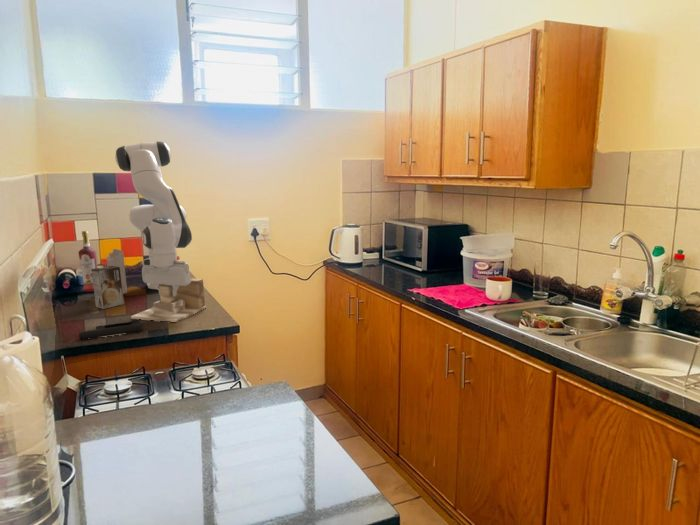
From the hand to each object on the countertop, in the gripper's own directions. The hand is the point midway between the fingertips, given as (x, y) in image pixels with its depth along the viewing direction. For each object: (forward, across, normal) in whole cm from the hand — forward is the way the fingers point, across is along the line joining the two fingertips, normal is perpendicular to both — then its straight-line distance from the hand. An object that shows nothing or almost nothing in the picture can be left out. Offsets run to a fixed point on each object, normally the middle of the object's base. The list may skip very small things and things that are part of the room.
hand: (167, 295), depth 206 cm
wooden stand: (+7, 0, 0) cm, 7 cm away
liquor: (+8, +59, -21) cm, 63 cm away
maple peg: (+4, 0, 0) cm, 4 cm away
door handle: (+8, +6, +24) cm, 26 cm away
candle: (+8, +44, -18) cm, 48 cm away
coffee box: (+8, +32, -3) cm, 33 cm away
